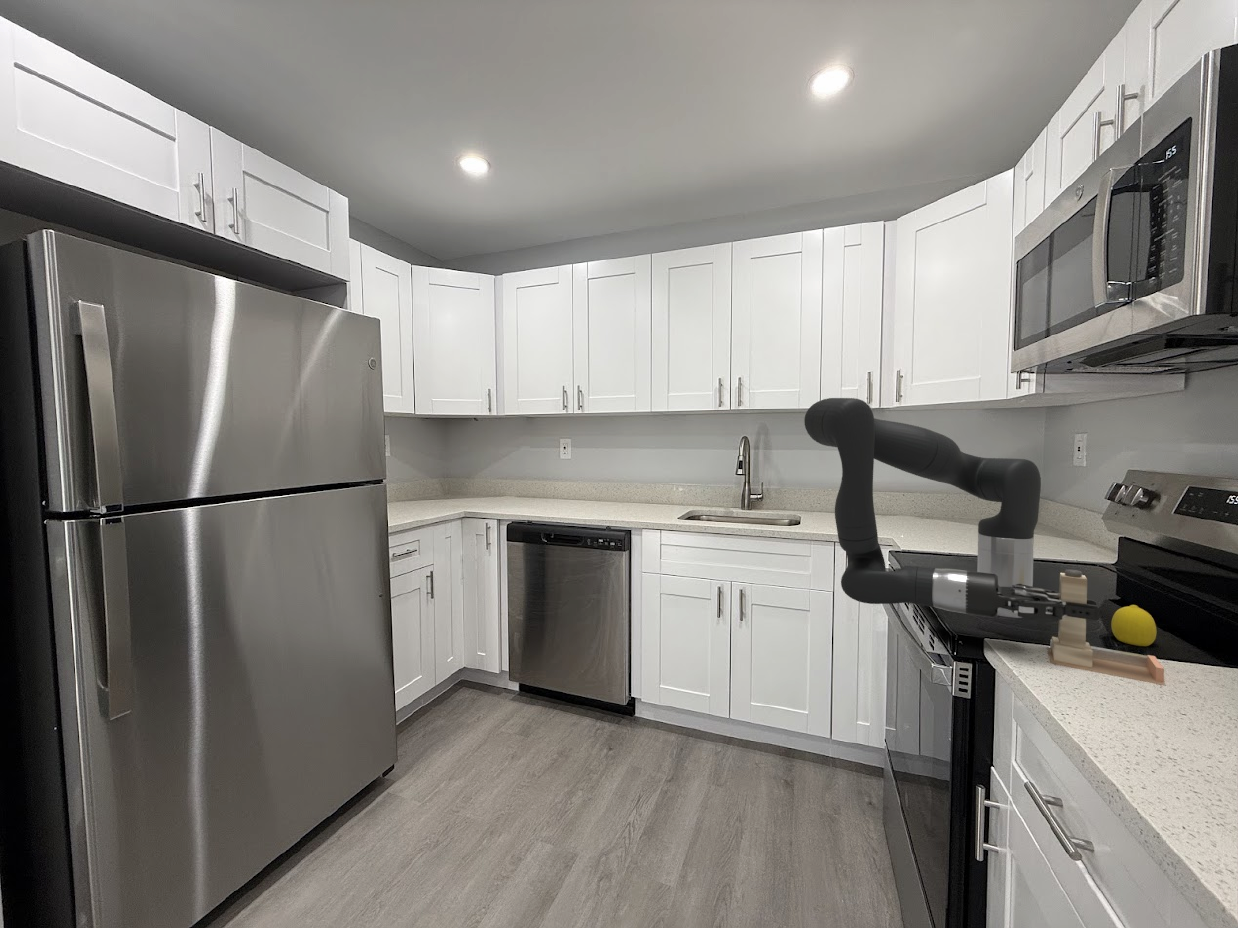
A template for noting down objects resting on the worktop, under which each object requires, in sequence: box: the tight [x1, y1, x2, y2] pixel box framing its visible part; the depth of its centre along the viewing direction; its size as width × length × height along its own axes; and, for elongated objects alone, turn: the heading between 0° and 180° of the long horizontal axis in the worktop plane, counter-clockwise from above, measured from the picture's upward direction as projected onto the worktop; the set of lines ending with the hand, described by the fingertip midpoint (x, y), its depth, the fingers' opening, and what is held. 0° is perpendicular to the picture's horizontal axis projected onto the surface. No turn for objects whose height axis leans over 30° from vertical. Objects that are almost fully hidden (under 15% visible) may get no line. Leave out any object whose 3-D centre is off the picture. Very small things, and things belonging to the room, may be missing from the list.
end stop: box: [1146, 654, 1165, 683], centre depth 76 cm, size 5×1×2 cm, turn 143°
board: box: [1046, 646, 1167, 686], centre depth 79 cm, size 8×13×2 cm, turn 53°
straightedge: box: [1049, 638, 1147, 668], centre depth 82 cm, size 1×12×2 cm, turn 53°
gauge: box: [1051, 569, 1093, 667], centre depth 81 cm, size 4×4×14 cm
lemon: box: [1110, 604, 1157, 647], centre depth 88 cm, size 6×6×8 cm
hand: (1096, 610), depth 79 cm, fingers closed on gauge, 3 cm apart
